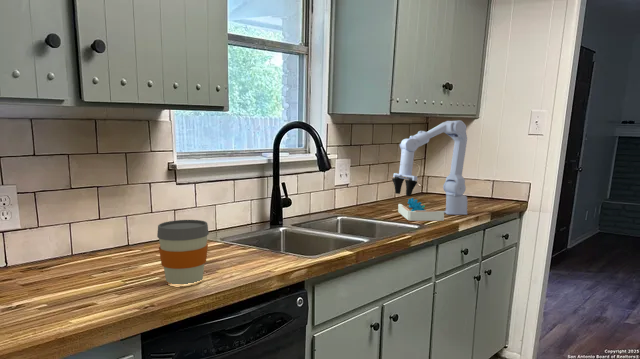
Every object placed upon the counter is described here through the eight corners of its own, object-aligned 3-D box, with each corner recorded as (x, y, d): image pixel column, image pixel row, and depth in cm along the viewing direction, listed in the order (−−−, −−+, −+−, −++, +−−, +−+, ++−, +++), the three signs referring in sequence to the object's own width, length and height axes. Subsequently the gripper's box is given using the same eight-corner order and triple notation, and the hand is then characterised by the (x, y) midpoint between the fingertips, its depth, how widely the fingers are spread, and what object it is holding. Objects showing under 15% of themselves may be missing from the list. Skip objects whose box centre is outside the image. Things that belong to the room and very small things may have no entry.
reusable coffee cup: (191, 271, 126) (189, 217, 125) (219, 280, 118) (218, 223, 117) (149, 282, 117) (147, 224, 115) (176, 293, 109) (175, 231, 107)
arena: (430, 211, 223) (430, 203, 222) (443, 220, 200) (444, 210, 200) (398, 211, 222) (398, 203, 222) (408, 220, 200) (408, 211, 199)
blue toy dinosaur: (415, 213, 209) (405, 196, 214) (407, 221, 212) (398, 204, 218) (431, 214, 215) (421, 197, 221) (423, 221, 219) (414, 205, 224)
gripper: (389, 163, 211) (386, 192, 212) (410, 165, 199) (406, 196, 199) (401, 164, 215) (398, 192, 216) (422, 166, 202) (418, 197, 203)
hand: (402, 194), depth 208 cm, fingers open, 7 cm apart
